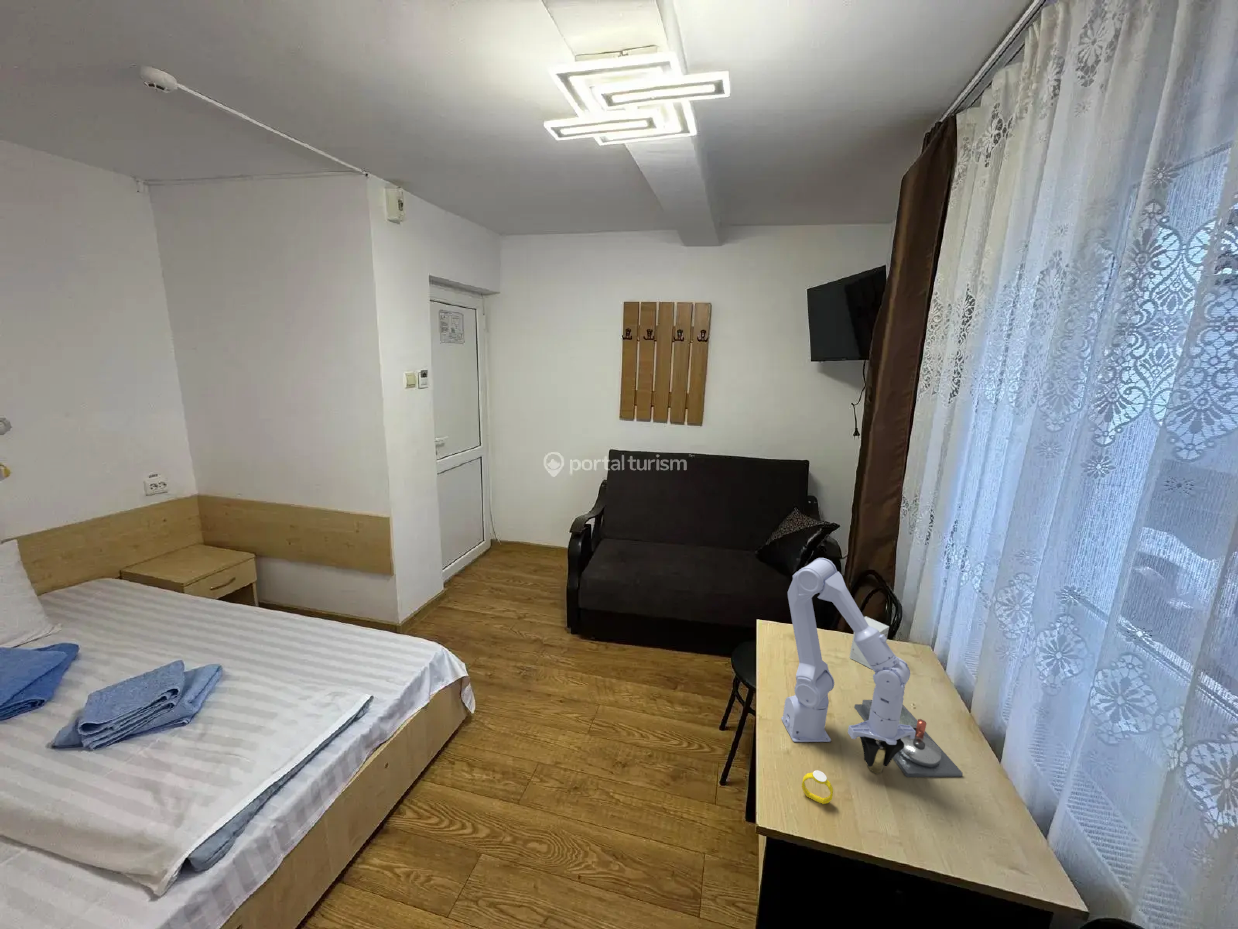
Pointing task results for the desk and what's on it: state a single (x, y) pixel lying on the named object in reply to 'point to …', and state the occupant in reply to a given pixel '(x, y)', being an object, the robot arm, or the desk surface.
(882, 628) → the supplement box
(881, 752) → the cylinder
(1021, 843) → the desk surface
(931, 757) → the crank
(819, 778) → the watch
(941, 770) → the crank bench
